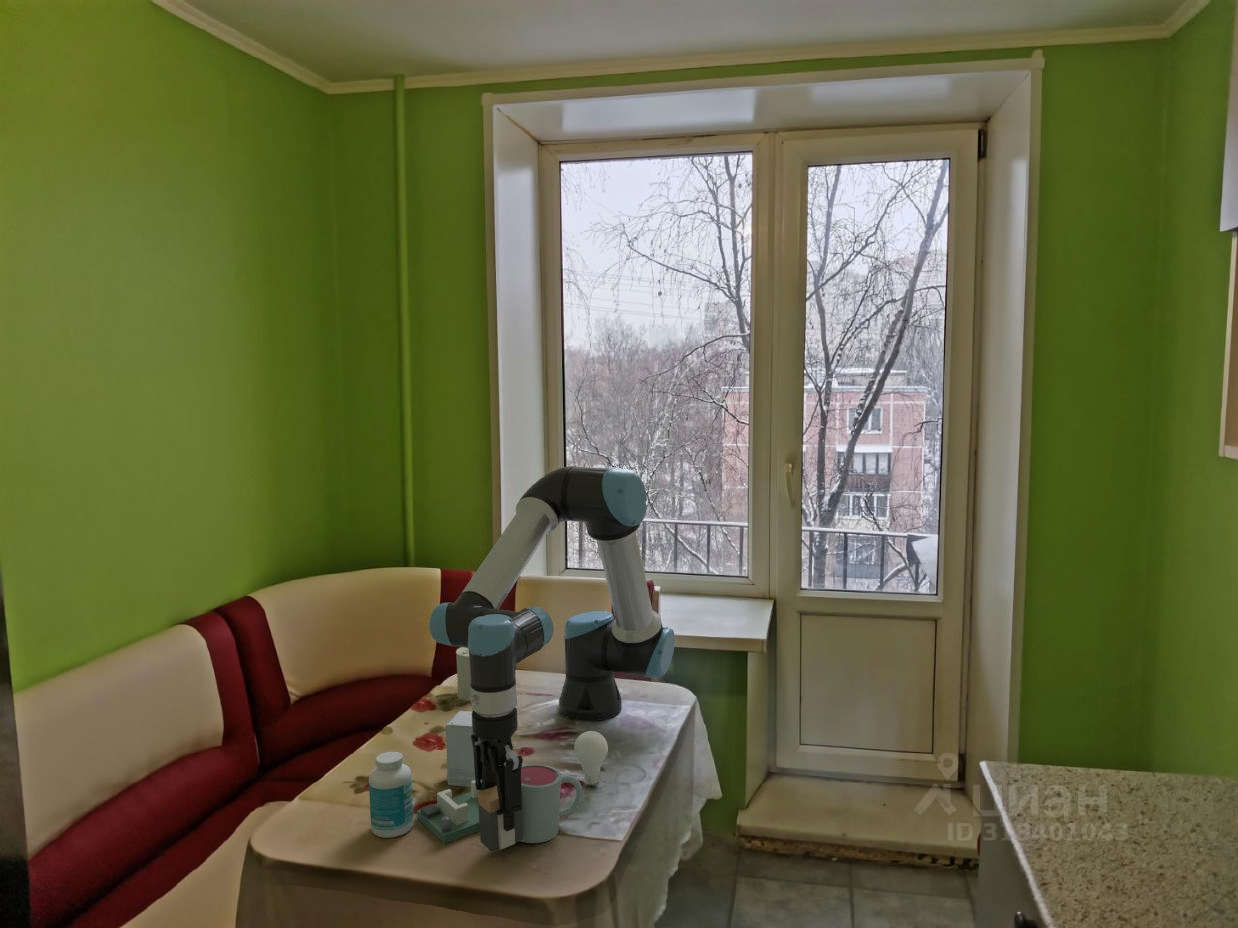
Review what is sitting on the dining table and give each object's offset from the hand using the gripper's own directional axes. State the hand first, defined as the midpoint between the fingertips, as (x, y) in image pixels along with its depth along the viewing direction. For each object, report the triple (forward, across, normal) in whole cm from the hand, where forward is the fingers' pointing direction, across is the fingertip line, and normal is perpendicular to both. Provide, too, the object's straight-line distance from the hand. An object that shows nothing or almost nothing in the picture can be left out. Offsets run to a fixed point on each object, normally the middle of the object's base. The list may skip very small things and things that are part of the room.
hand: (499, 838), depth 146 cm
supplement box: (+3, -27, +9) cm, 28 cm away
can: (+4, -66, +30) cm, 73 cm away
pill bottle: (+3, -19, -11) cm, 22 cm away
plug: (0, 0, 0) cm, 0 cm away
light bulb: (+3, -9, +26) cm, 27 cm away
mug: (+3, -1, +10) cm, 10 cm away
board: (+2, -14, +1) cm, 14 cm away
